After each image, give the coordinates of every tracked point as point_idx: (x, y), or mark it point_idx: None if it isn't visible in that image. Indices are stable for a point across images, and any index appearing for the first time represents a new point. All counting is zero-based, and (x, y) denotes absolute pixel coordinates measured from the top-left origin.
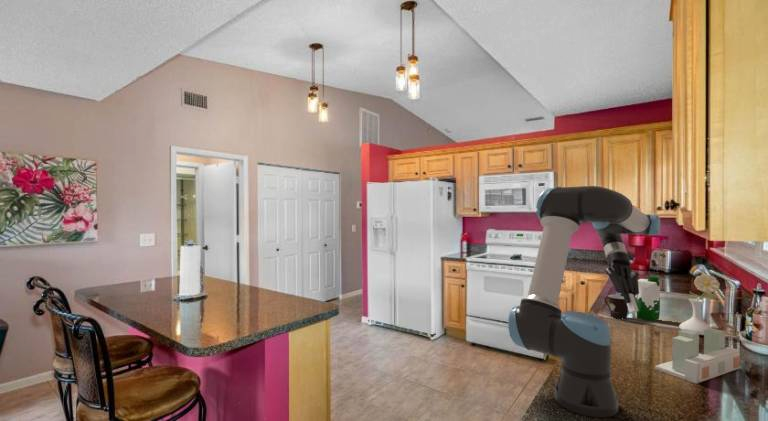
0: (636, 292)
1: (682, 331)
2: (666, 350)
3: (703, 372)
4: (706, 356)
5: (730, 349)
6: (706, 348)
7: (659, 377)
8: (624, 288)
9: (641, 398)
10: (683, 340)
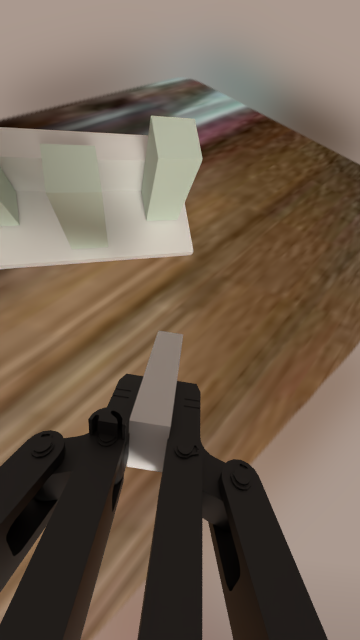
0: (92, 418)
1: (93, 180)
2: (24, 337)
3: None
4: (108, 148)
5: None
6: (2, 197)
7: (221, 223)
8: (199, 502)
9: (317, 186)
10: (194, 129)
